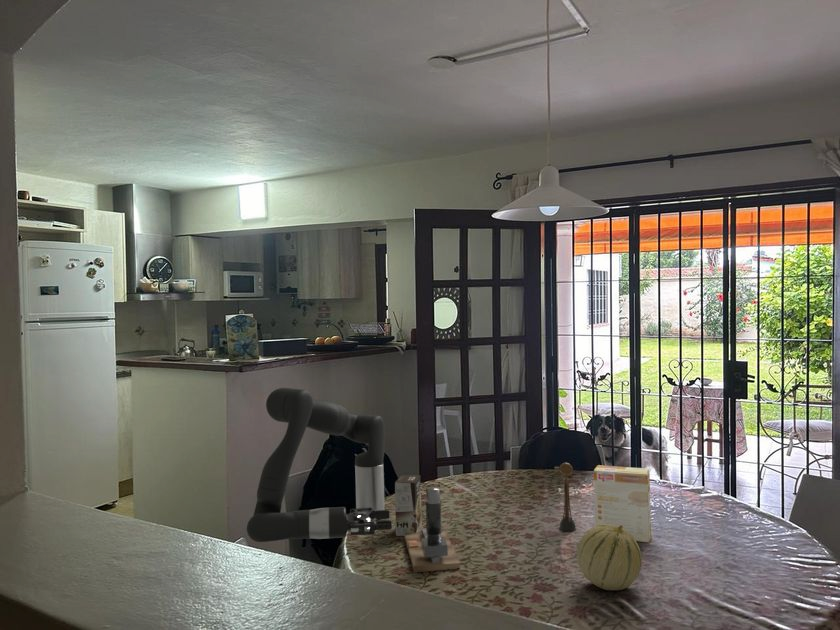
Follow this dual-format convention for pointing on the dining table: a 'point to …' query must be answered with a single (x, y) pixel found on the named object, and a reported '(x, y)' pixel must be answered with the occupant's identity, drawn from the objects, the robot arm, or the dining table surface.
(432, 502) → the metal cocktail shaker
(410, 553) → the press bench
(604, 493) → the coffeecake box
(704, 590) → the dining table surface
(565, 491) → the wooden tabletop sculpture
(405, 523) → the coffee box
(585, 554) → the cantaloupe
